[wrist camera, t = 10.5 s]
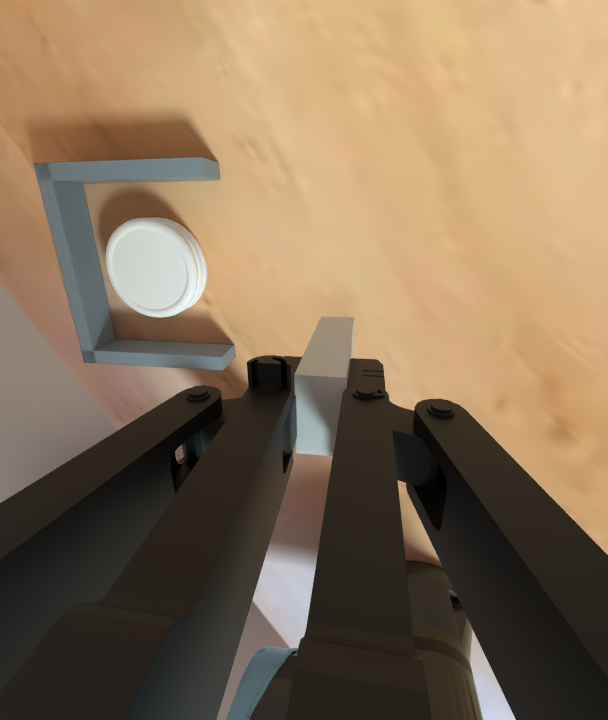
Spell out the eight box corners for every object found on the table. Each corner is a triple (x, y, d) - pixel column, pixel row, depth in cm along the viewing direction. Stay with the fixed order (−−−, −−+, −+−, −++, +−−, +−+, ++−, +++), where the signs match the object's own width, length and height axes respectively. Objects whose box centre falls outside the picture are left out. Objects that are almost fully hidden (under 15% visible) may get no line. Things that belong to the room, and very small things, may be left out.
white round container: (113, 219, 39) (91, 220, 36) (201, 214, 37) (185, 214, 34) (135, 311, 43) (116, 319, 40) (215, 310, 41) (202, 318, 38)
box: (235, 356, 43) (223, 370, 39) (107, 350, 45) (84, 362, 42) (218, 162, 35) (201, 157, 31) (66, 167, 38) (33, 163, 34)
